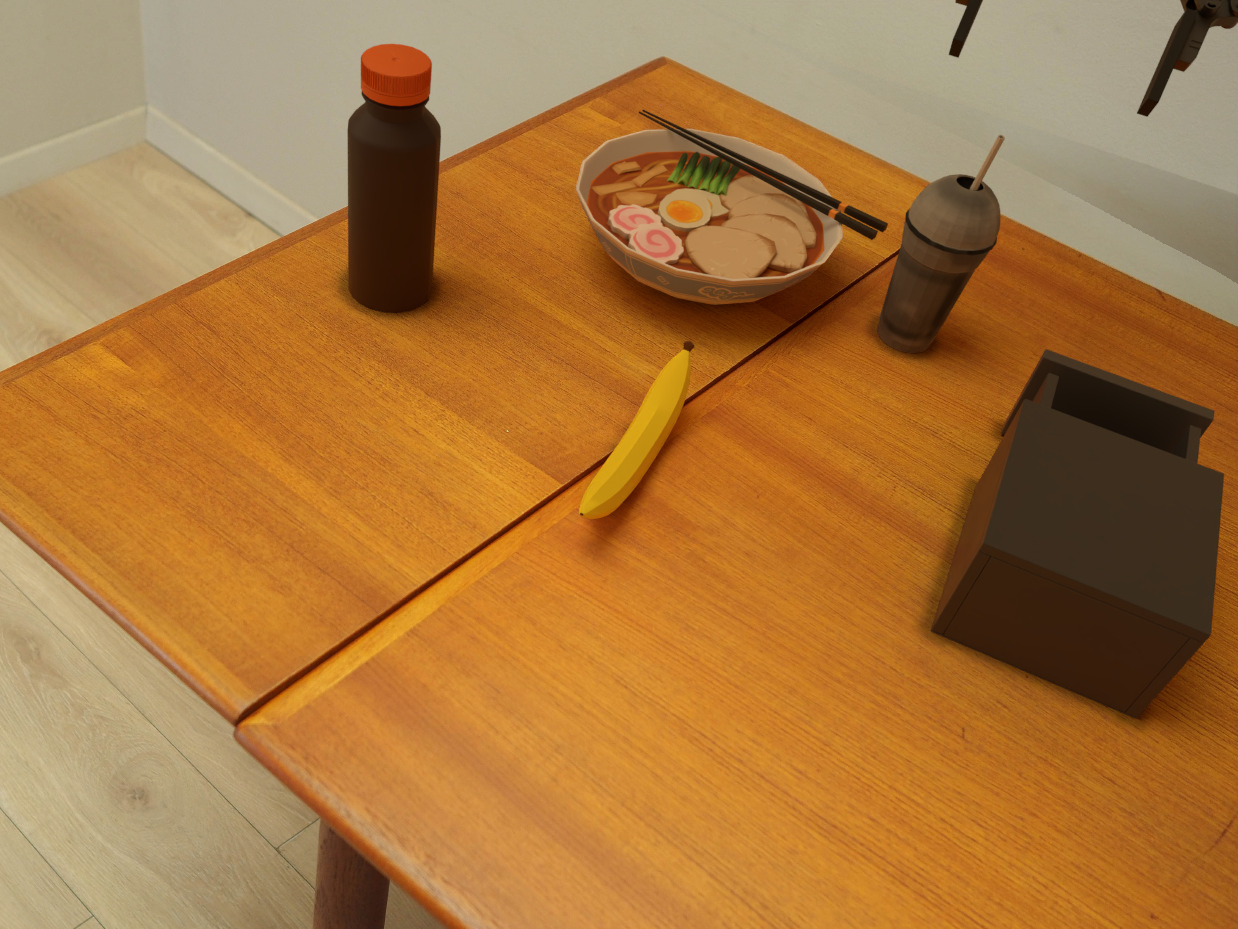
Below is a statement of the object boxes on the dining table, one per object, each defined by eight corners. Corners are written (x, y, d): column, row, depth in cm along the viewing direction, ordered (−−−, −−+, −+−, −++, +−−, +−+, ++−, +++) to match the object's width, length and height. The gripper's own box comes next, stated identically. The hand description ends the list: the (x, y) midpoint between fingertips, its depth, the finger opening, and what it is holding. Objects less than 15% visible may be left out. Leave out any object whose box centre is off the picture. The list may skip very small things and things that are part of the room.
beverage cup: (921, 314, 103) (1014, 103, 88) (957, 368, 98) (1062, 154, 84) (846, 317, 101) (928, 102, 87) (879, 372, 96) (972, 154, 82)
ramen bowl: (500, 253, 101) (510, 169, 95) (659, 167, 114) (676, 89, 108) (732, 400, 92) (759, 317, 86) (876, 288, 105) (908, 209, 99)
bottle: (330, 290, 95) (326, 54, 80) (391, 259, 99) (397, 28, 84) (389, 331, 92) (395, 94, 78) (448, 297, 96) (465, 65, 81)
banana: (551, 555, 78) (563, 490, 74) (656, 397, 91) (672, 333, 86) (590, 572, 78) (605, 508, 73) (690, 411, 90) (708, 347, 85)
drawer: (1012, 395, 95) (1053, 319, 89) (1165, 453, 92) (1218, 378, 87) (967, 542, 83) (1012, 464, 77) (1142, 613, 80) (1202, 539, 75)
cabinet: (971, 493, 88) (1024, 398, 81) (1153, 565, 85) (1224, 473, 78) (926, 637, 78) (983, 542, 71) (1131, 725, 75) (1211, 635, 68)
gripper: (1337, -131, 82) (1212, 152, 83) (989, -221, 87) (876, 47, 88) (1389, -199, 74) (1252, 113, 75) (1006, -293, 80) (882, 0, 81)
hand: (1049, 78), depth 82 cm, fingers open, 13 cm apart
